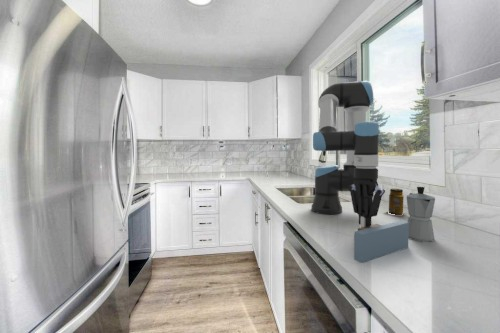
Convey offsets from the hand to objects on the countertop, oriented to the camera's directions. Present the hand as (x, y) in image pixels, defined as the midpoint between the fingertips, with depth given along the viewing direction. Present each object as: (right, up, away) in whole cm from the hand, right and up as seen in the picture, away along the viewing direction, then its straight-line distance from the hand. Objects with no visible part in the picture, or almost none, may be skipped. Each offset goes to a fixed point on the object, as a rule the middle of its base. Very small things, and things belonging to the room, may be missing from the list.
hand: (364, 234), depth 86 cm
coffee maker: (+20, -1, +2) cm, 20 cm away
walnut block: (+3, -2, -4) cm, 5 cm away
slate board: (0, -2, -12) cm, 12 cm away
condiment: (+30, +1, +34) cm, 45 cm away
